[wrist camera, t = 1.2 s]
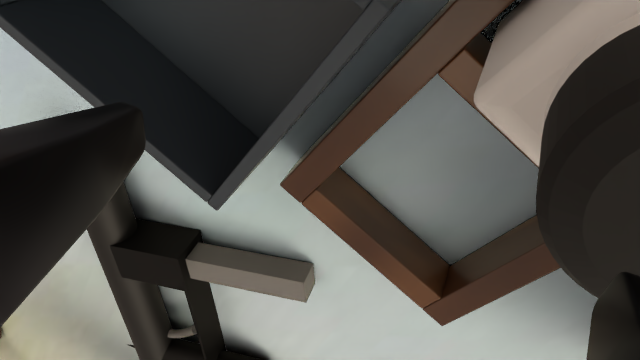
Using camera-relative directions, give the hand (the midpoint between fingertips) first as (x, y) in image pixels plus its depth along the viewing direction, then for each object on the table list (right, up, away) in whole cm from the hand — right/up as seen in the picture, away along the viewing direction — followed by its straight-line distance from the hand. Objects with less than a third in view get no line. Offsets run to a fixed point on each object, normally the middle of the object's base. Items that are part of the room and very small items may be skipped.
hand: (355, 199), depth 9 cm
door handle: (-8, -7, +27) cm, 29 cm away
